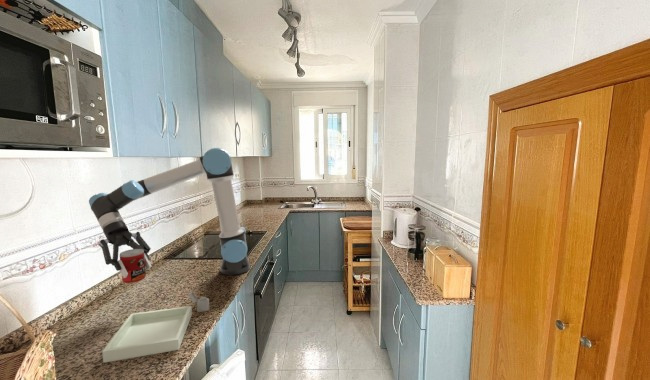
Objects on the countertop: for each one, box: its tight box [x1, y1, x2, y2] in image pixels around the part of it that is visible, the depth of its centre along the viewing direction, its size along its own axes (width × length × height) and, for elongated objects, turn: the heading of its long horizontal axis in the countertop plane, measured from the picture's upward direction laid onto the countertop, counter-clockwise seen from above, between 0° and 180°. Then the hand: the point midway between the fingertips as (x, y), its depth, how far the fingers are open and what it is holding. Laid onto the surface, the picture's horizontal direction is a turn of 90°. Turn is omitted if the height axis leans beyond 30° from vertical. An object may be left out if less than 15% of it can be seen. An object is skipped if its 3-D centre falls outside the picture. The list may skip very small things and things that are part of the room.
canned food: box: [119, 248, 147, 284], centre depth 105 cm, size 8×8×11 cm
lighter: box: [187, 291, 210, 313], centre depth 105 cm, size 7×2×8 cm, turn 106°
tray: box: [101, 305, 193, 363], centre depth 91 cm, size 20×20×4 cm
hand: (138, 271), depth 103 cm, fingers closed on canned food, 8 cm apart
